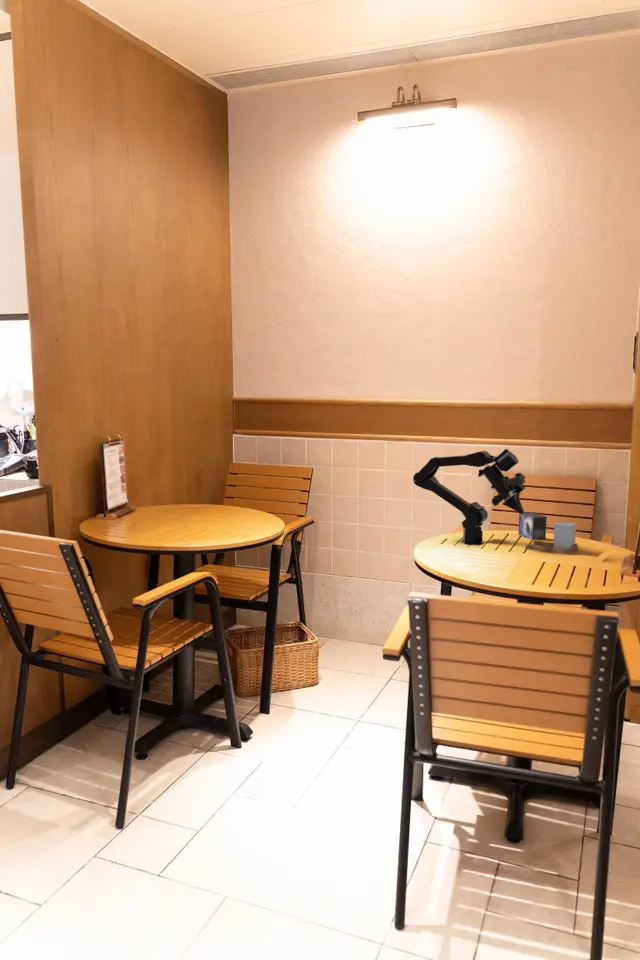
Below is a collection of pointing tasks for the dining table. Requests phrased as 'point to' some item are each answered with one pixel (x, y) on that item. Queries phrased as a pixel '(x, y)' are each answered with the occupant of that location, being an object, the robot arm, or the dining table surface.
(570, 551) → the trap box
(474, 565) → the dining table surface
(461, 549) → the dining table surface
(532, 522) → the small box
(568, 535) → the block
